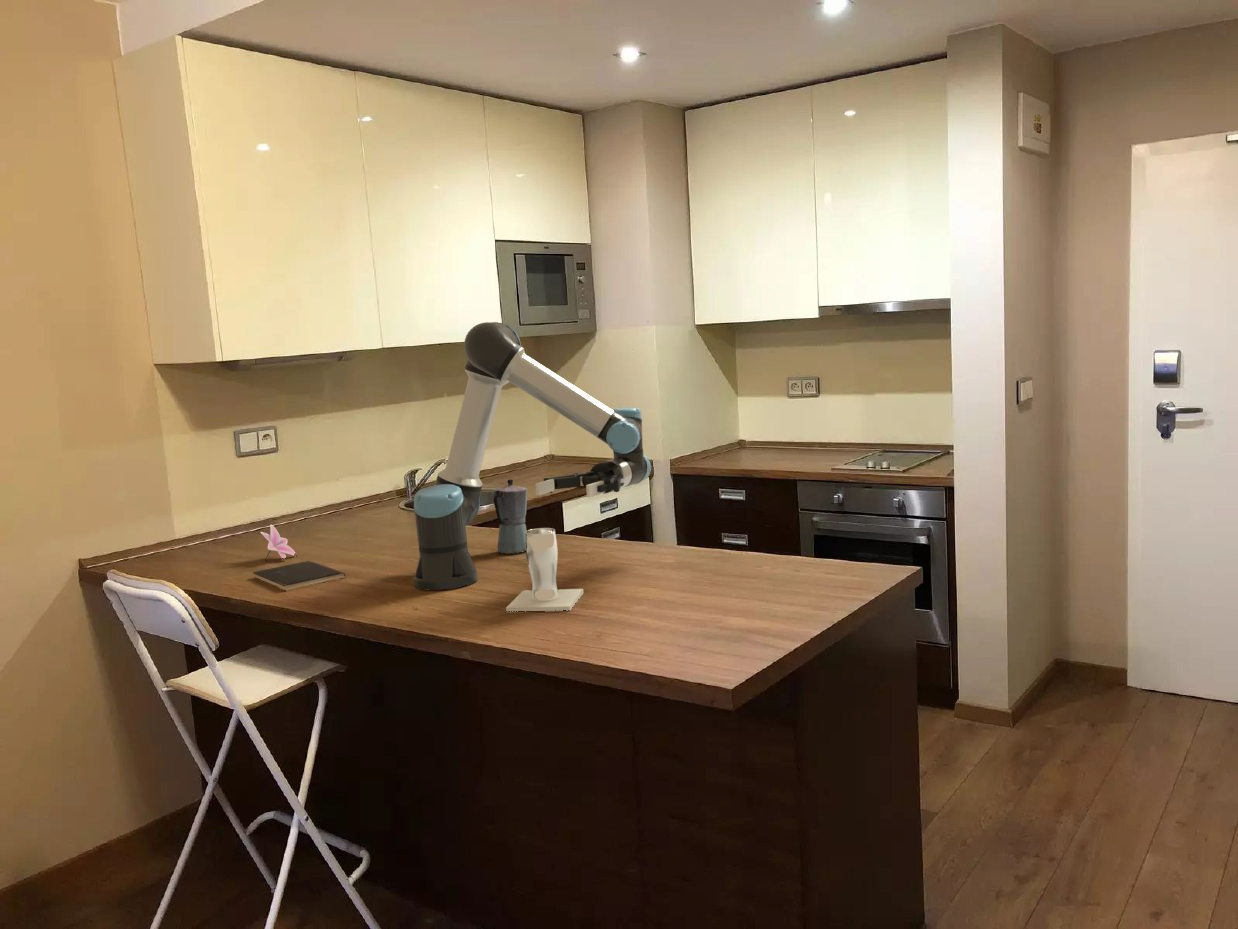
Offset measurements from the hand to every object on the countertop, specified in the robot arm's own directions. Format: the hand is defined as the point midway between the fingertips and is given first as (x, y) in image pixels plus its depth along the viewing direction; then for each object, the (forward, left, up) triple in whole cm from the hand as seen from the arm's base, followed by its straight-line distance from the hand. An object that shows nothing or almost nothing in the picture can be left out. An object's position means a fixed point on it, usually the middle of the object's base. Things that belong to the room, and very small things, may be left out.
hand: (562, 490), depth 221 cm
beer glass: (-3, -9, -22) cm, 24 cm away
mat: (-3, -9, -23) cm, 25 cm away
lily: (-96, +44, -24) cm, 108 cm away
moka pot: (-25, +43, -23) cm, 55 cm away
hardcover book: (-78, +21, -24) cm, 84 cm away
